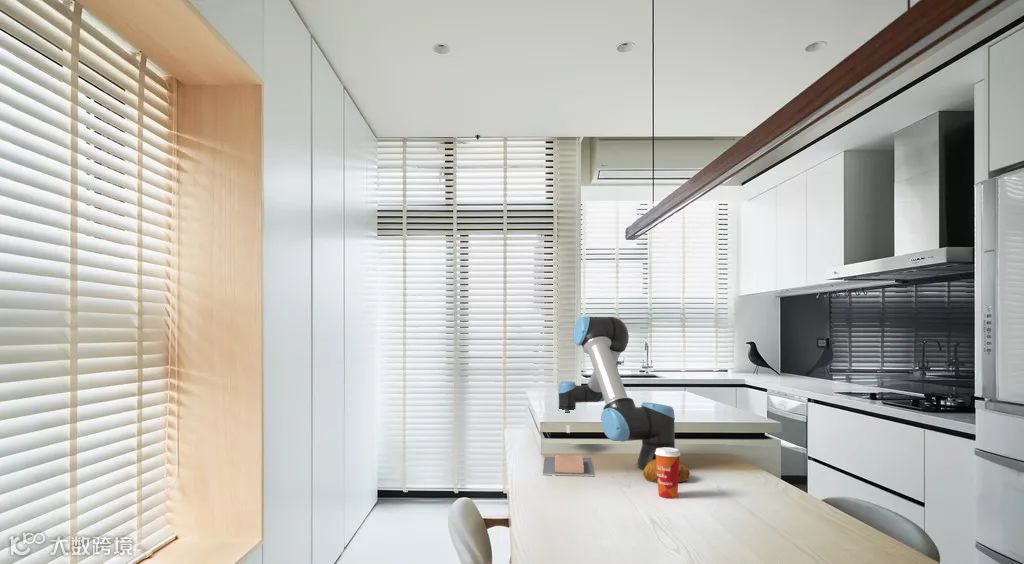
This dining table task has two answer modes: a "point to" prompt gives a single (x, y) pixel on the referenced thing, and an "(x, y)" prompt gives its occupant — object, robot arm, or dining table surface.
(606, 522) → the dining table surface
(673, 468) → the paper cup
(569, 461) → the tile
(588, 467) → the mat
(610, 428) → the robot arm
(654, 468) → the croissant
